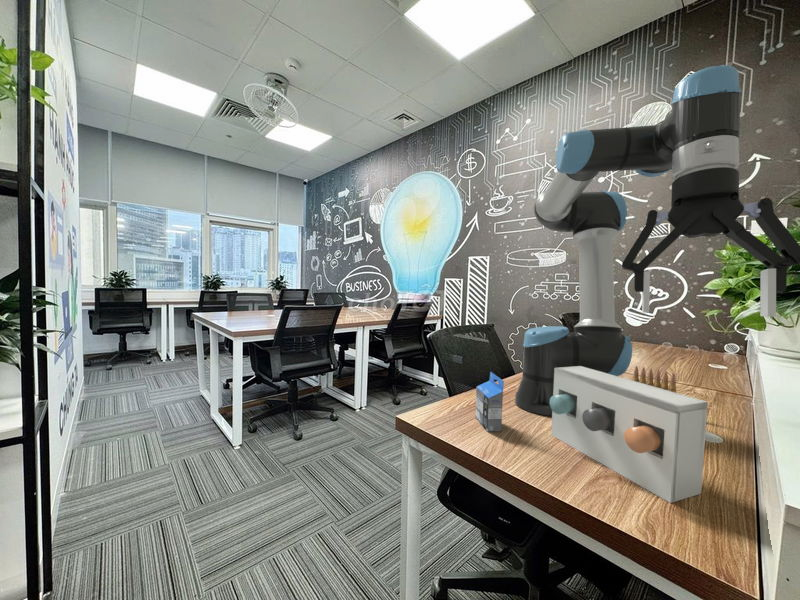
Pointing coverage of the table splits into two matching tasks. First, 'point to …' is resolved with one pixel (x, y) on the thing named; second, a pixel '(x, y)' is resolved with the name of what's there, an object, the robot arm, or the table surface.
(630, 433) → the terracotta button
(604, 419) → the charcoal button
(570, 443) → the console
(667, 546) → the table surface
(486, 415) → the label tape cartridge
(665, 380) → the ammunition clip
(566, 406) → the teal button
